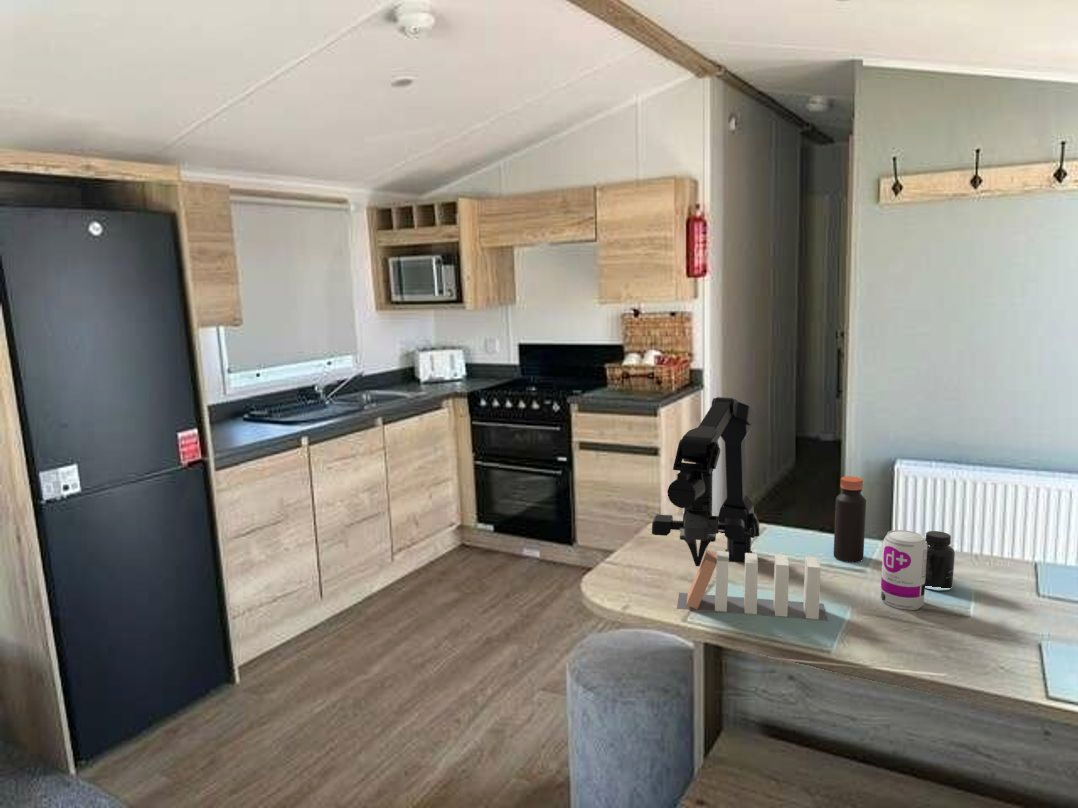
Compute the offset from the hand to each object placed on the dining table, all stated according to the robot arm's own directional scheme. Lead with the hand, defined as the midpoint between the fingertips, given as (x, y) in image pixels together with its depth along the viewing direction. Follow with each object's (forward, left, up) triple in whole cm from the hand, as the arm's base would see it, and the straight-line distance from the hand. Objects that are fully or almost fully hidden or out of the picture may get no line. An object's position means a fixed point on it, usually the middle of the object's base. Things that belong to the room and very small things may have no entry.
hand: (697, 565), depth 158 cm
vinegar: (-34, +35, -9) cm, 50 cm away
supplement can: (-9, +42, -9) cm, 44 cm away
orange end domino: (0, -1, -8) cm, 8 cm away
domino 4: (0, +23, -8) cm, 24 cm away
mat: (-1, +11, -9) cm, 14 cm away
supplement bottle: (-20, +51, -9) cm, 55 cm away
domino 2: (0, +11, -8) cm, 14 cm away
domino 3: (0, +17, -8) cm, 19 cm away
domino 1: (0, +5, -8) cm, 10 cm away
